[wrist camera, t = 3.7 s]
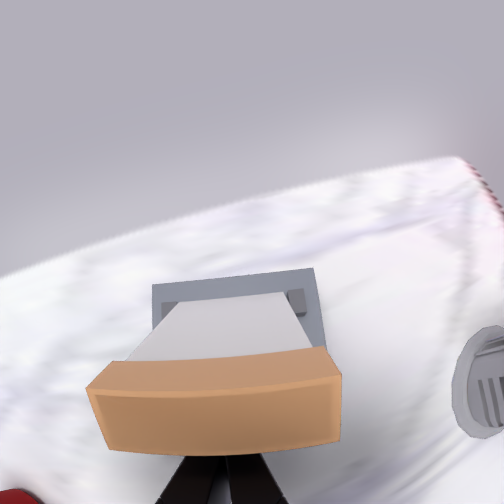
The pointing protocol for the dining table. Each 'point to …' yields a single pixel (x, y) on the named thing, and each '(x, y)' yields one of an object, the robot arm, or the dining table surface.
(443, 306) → the dining table surface
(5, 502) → the beverage can
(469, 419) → the french press
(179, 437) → the lever
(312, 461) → the dining table surface
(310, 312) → the switch box
